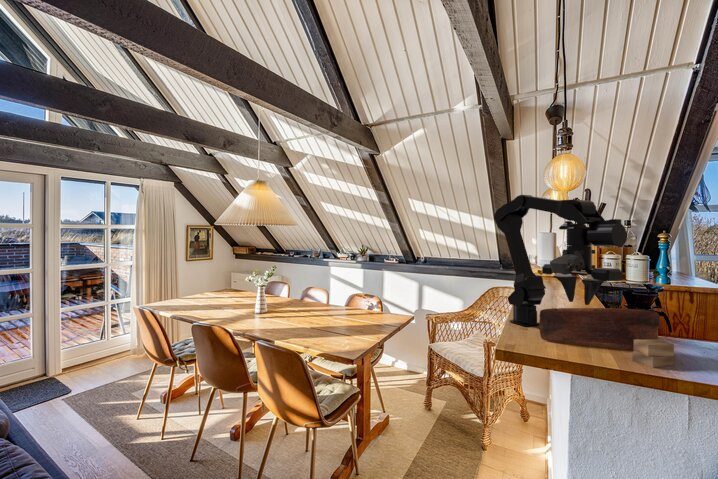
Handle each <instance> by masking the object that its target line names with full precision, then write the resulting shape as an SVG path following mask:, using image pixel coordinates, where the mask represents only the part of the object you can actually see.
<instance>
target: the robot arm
mask: <svg viewBox="0 0 718 479" xmlns="http://www.w3.org/2000/svg"><path fill="white" fill-rule="evenodd" d="M531 209H532V210H537V211H541V212H547V213H553V214H554V215H556V216H558V217H559V218H560V219H561V218H562V219H564V220H566V221H565V222H564V223H563V224H561V225H560V226H559V227H558V229H559V230H561V231H562V230H566V249H562V252H561V253H562V255H561V256H558V257H556V258H554V259H552V260H550V261H549V263H545V264H544V265H543V266H542V268H541V270H542V272H541V274H543V275H544V274H545V275H553V274H554V275H553V278H555V279H557V281H559V282H560V283H561V285H562V287H563V290H564V292H565V294H566V297H567V300H568V302H569V303H573V302H574V300H575V296H576V295H575V293H576V287H577V286H576V285H577V276H586V279H585V278H584V279H583V278H582V279H581V282H582V284H583V287H584V288H583V289H584V294H583V297H584V298H583V300H584V305H585V306H589V305H590V304H591V302H592V300H593V299H594V297H595V295H596V294H597V291H598V290H599V289H600V287H601V286H602V285H603V283H607V282H612V281H613V282H614V281H623V280H624V278H623V277H624V274H623V272H622V270H621V269H620V268H612V267H596V265H595V264H592V262H593V261H592V260H593V257H592V256H593V255H595V254H596V250H595V249H593V247H607V248H608V247H614V248H615V247H616V248H621V247H624V245H625V244H626V243H627V239H628V232H627V229H626V228H625V226H624V225H623V224H622V219H620V218H611V219H608V220H607V219H606V220H605V218H604V217H603V216H602V214H600V212H599V211H598V210H597V206H596V205H595V202H594V201H591V200H589V199H588V200H586V199H582V200H581V199H559V200H558V199H552V198H547V197H539V196H533V195H529V194H519V195H517V196H516V197H514V199H512V200H510V201H509V202H506V203H504V204H503V205H502V206H501V207H498V208H497V209H496V211H495V213H494V214H493V219H494V221H495V224H496V226H497V228H498V229H499V230H500V231H501V233H503V234H504V237H505V240H506V244H507V247H508V252H509V254H510V258H511V261H512V265H513V268H514V273H515V279H514V282H513V292H511V293H510V295H509V296H508V297H507V301H508V303H509V305H512V308H513V313H512V316H513V317H512V318H513V319H509V323H513V324H516V325H519V326H523V327H532V326H540V325H539V321H538V311H537V306H540V305H541V304H542V300H543V299H544V296H545V295H546V290H545V289H546V286H545V284H544V280H543V277H542V276H541V275H536V274H535V273H534V271H533V269H532V266H531V262H530V259H529V255H528V252H527V248H526V245H525V242H524V239H523V235H522V232H521V229H522V227H523V223H524V222H523V218H524V217H525V216H527V214H528V213H529V210H531ZM573 222H575V223H573ZM587 225H588V226H587ZM576 275H577V276H576Z"/></svg>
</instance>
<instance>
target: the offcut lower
mask: <svg viewBox="0 0 718 479" xmlns="http://www.w3.org/2000/svg"><path fill="white" fill-rule="evenodd" d="M632 362H635V363H638V364H640V365H644V366H647V367H650V368H653V369H654V368H658V367H659V368H660V367H665V366H671V365H675V364H676V354H675V353H674V356H647V355H644V354H641V353H639V352H636V351H634V350H632Z"/></svg>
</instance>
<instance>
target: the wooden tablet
mask: <svg viewBox="0 0 718 479" xmlns="http://www.w3.org/2000/svg"><path fill="white" fill-rule="evenodd" d="M660 317H661V316H660V314H659V313H658V312H657V311H654V310H646V309H633V308H632V309H631V308H616V307H615V308H614V307H613V308H612V307H566V308H565V307H559V308H557V307H554V308H544V309H541V310H540V311H539V321H538V323H539V325H538V326H539V335H540V339H542V340H543V341H546V342H551V343H559V344H567V343H568V344H569V345H570V344H571V345H578V344H579V346H592V347H600V348H608V349H609V348H610V349H622V350H632V351H634V340H644V339H659V337H658V331H659V329H660V325H661V318H660ZM659 340H660V339H659Z"/></svg>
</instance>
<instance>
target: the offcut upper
mask: <svg viewBox="0 0 718 479" xmlns="http://www.w3.org/2000/svg"><path fill="white" fill-rule="evenodd" d="M633 351H636V352H639V353H641V354H644V355H647V356H674V354H675V344H674V343H672V342H668V341H665V340H662V339H644V340H634V350H633Z"/></svg>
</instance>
